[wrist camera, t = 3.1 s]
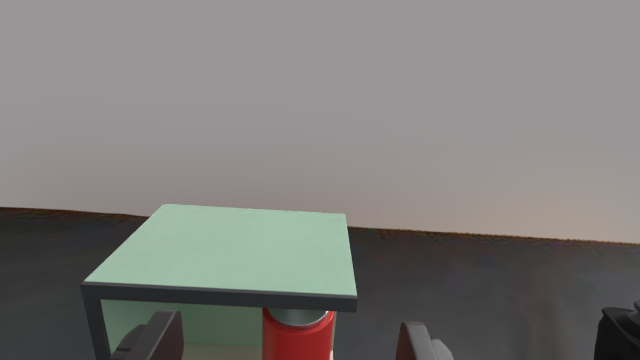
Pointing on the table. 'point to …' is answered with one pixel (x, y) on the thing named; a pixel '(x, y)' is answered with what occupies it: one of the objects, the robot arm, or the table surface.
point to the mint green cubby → (220, 276)
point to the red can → (296, 334)
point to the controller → (618, 334)
